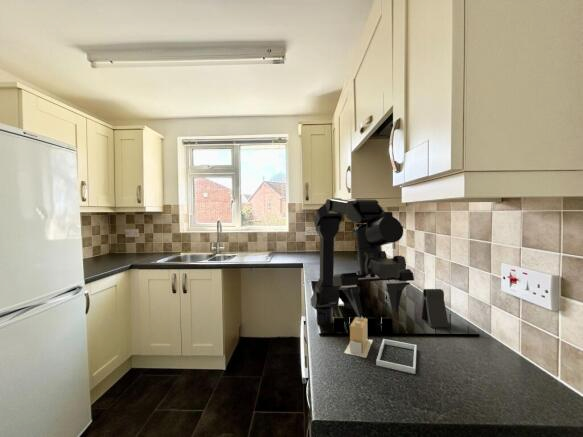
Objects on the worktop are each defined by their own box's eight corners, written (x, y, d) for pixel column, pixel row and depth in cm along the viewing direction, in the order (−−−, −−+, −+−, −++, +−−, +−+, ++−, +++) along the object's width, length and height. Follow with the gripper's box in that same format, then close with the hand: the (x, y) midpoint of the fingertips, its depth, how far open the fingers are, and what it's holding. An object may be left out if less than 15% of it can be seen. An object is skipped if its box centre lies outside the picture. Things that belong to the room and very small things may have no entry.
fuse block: (353, 338, 85) (353, 326, 85) (372, 342, 82) (372, 330, 82) (343, 355, 75) (343, 341, 75) (366, 360, 72) (366, 346, 72)
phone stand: (419, 318, 101) (419, 286, 101) (435, 318, 101) (435, 286, 101) (431, 328, 92) (431, 293, 92) (448, 328, 92) (448, 293, 92)
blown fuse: (355, 339, 82) (355, 314, 82) (367, 342, 81) (367, 316, 81) (350, 350, 76) (350, 322, 76) (362, 353, 75) (362, 324, 74)
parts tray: (383, 345, 80) (383, 338, 80) (416, 352, 76) (416, 345, 76) (376, 368, 69) (376, 360, 69) (415, 377, 65) (415, 368, 65)
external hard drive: (312, 301, 123) (339, 301, 124) (315, 308, 115) (344, 307, 115) (312, 298, 123) (339, 297, 124) (315, 304, 115) (344, 303, 115)
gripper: (348, 245, 57) (357, 324, 53) (424, 242, 61) (437, 315, 58) (328, 251, 67) (335, 318, 64) (394, 248, 72) (404, 310, 68)
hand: (378, 315), depth 63 cm, fingers open, 9 cm apart
